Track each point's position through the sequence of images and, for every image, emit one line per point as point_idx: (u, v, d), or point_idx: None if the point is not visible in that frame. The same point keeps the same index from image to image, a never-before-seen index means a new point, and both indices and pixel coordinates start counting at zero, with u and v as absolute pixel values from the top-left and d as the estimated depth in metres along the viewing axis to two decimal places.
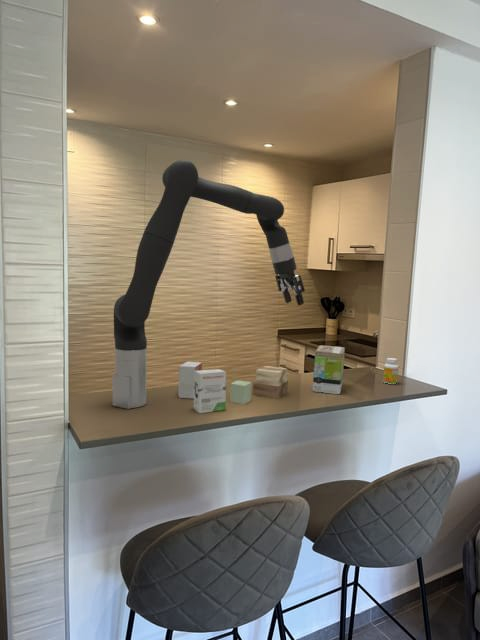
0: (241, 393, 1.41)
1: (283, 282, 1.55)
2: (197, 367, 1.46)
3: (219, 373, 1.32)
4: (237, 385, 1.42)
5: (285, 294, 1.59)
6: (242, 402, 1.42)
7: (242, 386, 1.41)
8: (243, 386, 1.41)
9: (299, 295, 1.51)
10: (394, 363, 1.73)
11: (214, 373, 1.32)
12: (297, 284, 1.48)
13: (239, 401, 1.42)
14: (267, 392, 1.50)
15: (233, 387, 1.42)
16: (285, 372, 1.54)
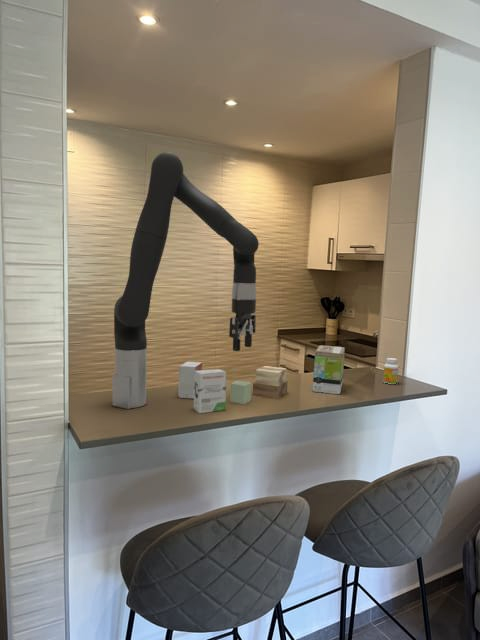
0: (241, 393, 1.41)
1: None
2: (197, 367, 1.46)
3: (219, 373, 1.32)
4: (237, 385, 1.42)
5: (246, 337, 1.46)
6: (242, 402, 1.42)
7: (242, 386, 1.41)
8: (243, 386, 1.41)
9: (234, 340, 1.38)
10: (394, 363, 1.73)
11: (214, 373, 1.32)
12: (230, 327, 1.36)
13: (239, 401, 1.42)
14: (267, 392, 1.50)
15: (233, 387, 1.42)
16: (284, 372, 1.54)
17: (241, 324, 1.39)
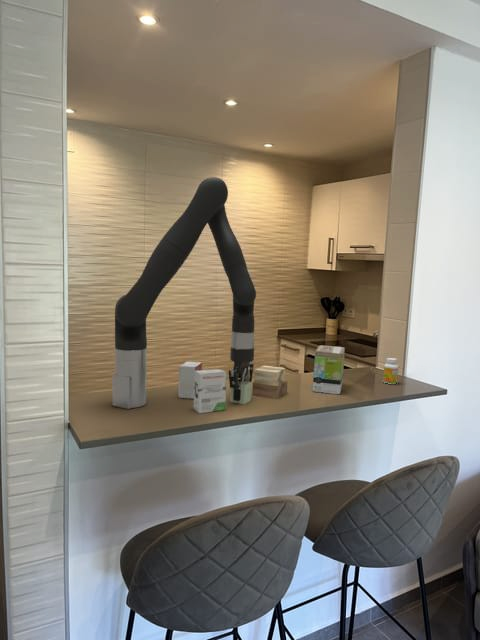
0: (242, 393, 1.41)
1: None
2: (197, 367, 1.46)
3: (219, 373, 1.32)
4: None
5: None
6: (242, 402, 1.42)
7: (242, 386, 1.41)
8: (243, 386, 1.41)
9: (235, 390, 1.41)
10: (394, 363, 1.73)
11: (214, 373, 1.32)
12: (230, 379, 1.39)
13: (239, 401, 1.42)
14: (267, 392, 1.50)
15: None
16: (283, 372, 1.54)
17: (240, 374, 1.41)
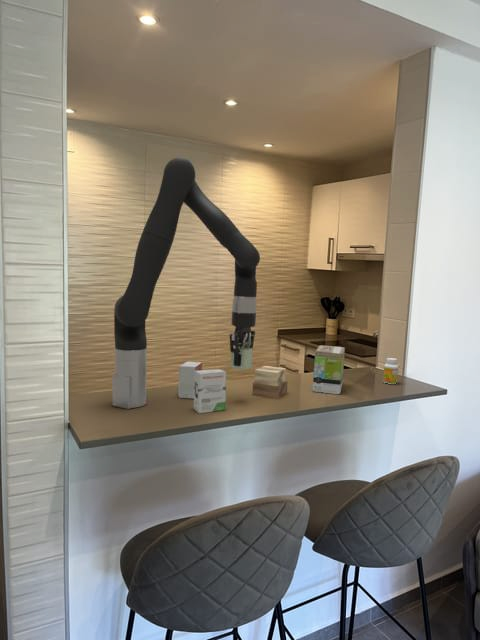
0: (242, 358, 1.40)
1: None
2: (197, 367, 1.46)
3: (219, 373, 1.32)
4: None
5: None
6: (243, 367, 1.40)
7: (243, 351, 1.40)
8: (244, 351, 1.39)
9: (235, 355, 1.39)
10: (394, 363, 1.73)
11: (214, 373, 1.32)
12: (231, 343, 1.37)
13: (240, 366, 1.40)
14: (267, 392, 1.50)
15: None
16: (284, 372, 1.54)
17: (241, 339, 1.39)
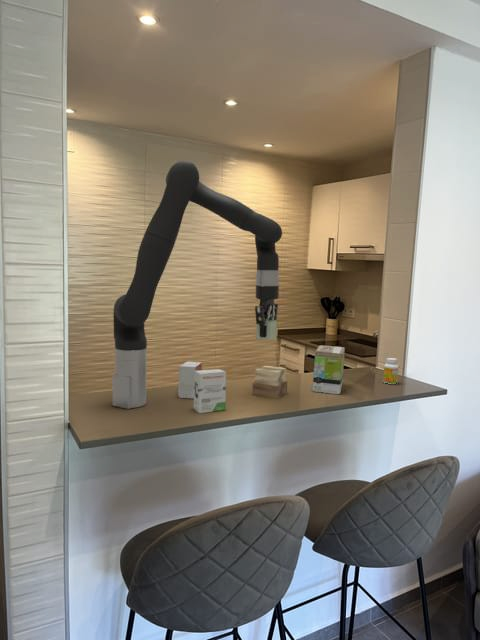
0: (268, 329, 1.46)
1: None
2: (197, 367, 1.46)
3: (219, 373, 1.32)
4: None
5: None
6: (268, 338, 1.46)
7: (268, 322, 1.46)
8: (269, 322, 1.46)
9: (261, 327, 1.46)
10: (394, 363, 1.73)
11: (214, 373, 1.32)
12: (256, 315, 1.43)
13: (266, 337, 1.47)
14: (267, 392, 1.50)
15: None
16: (284, 372, 1.54)
17: (266, 311, 1.45)
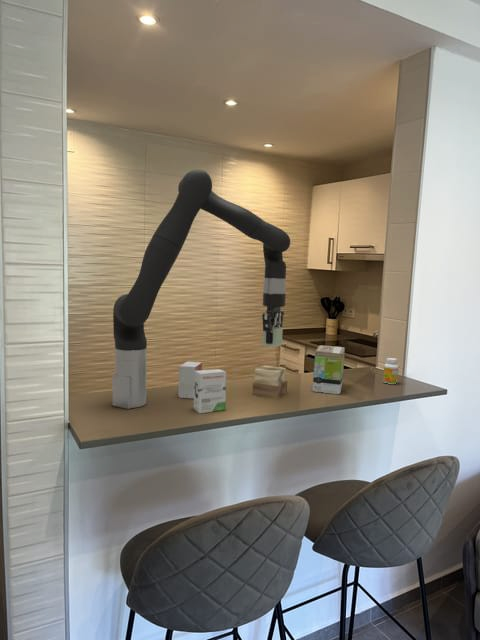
0: (274, 336, 1.49)
1: None
2: (197, 367, 1.46)
3: (219, 373, 1.32)
4: None
5: None
6: (274, 345, 1.49)
7: (275, 329, 1.49)
8: (276, 329, 1.49)
9: (267, 333, 1.49)
10: (394, 363, 1.73)
11: (214, 373, 1.32)
12: (264, 322, 1.46)
13: (272, 344, 1.50)
14: (267, 392, 1.50)
15: None
16: (284, 372, 1.54)
17: (272, 318, 1.48)
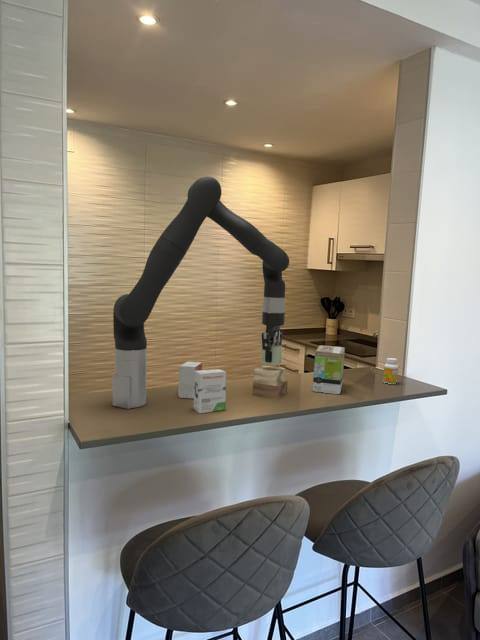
0: (273, 355, 1.50)
1: None
2: (197, 367, 1.46)
3: (219, 373, 1.32)
4: None
5: None
6: (274, 363, 1.50)
7: (274, 348, 1.49)
8: (275, 348, 1.49)
9: (267, 352, 1.49)
10: (394, 363, 1.73)
11: (214, 373, 1.32)
12: (263, 341, 1.47)
13: (271, 363, 1.50)
14: (267, 392, 1.50)
15: None
16: (283, 372, 1.54)
17: (272, 337, 1.49)
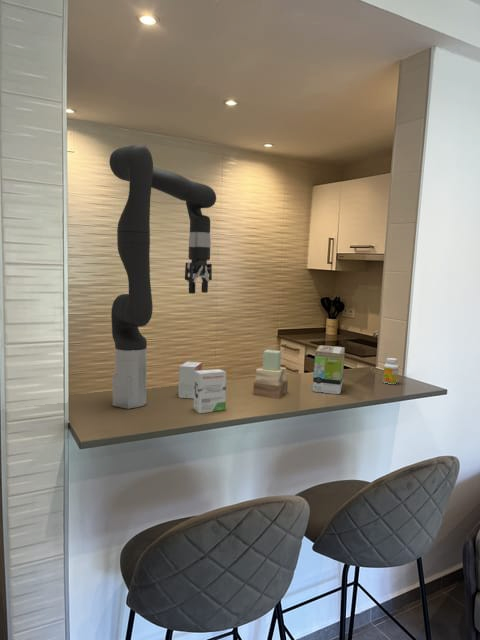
0: (275, 360, 1.50)
1: None
2: (197, 367, 1.46)
3: (219, 373, 1.32)
4: (270, 353, 1.51)
5: (202, 283, 1.62)
6: (275, 369, 1.51)
7: (275, 354, 1.50)
8: (276, 354, 1.50)
9: (190, 283, 1.54)
10: (394, 363, 1.73)
11: (214, 373, 1.32)
12: (186, 270, 1.52)
13: (272, 368, 1.51)
14: (268, 392, 1.50)
15: (266, 355, 1.51)
16: (284, 371, 1.55)
17: (196, 269, 1.54)
